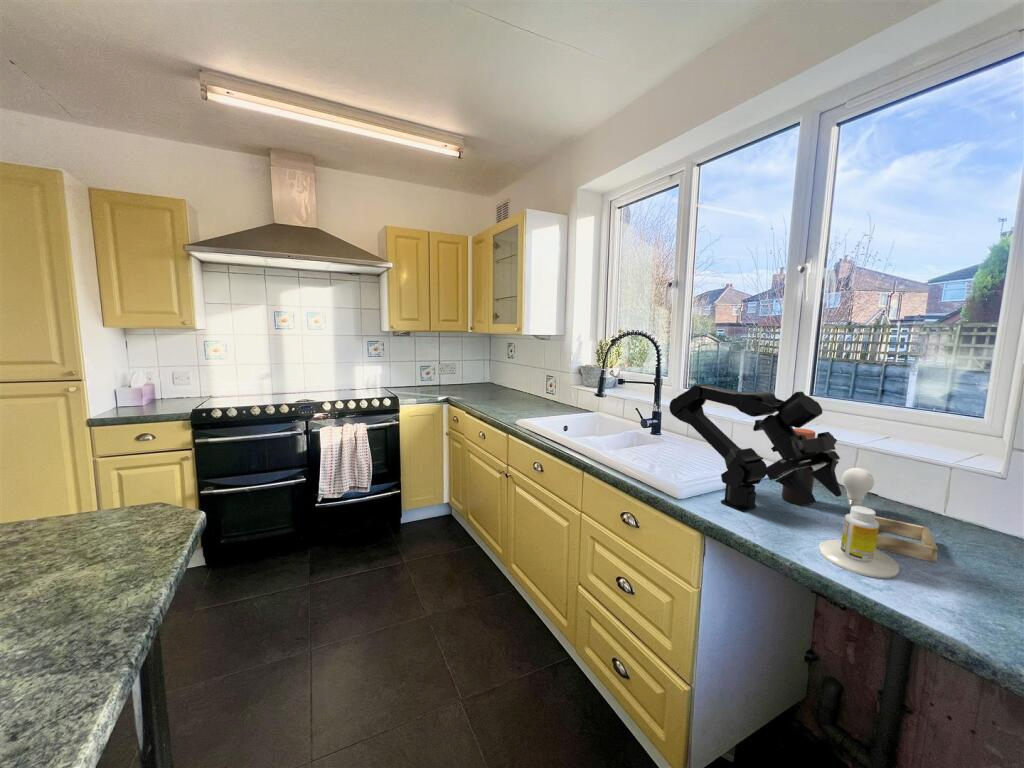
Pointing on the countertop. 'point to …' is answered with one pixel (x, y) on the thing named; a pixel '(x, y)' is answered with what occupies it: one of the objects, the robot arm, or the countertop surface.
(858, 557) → the supplement bottle
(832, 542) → the plate
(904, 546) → the bin frame
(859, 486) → the light bulb
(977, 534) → the countertop surface
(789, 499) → the vinegar
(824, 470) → the robot arm
